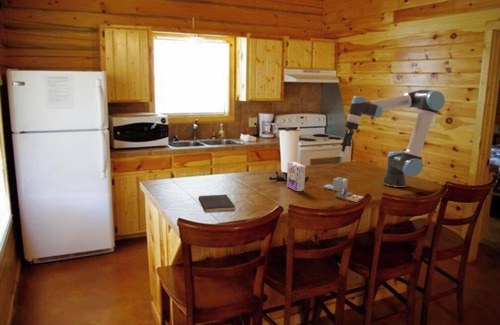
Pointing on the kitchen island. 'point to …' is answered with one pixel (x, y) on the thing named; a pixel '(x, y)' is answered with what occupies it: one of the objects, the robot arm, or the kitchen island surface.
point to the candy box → (296, 176)
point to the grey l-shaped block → (336, 184)
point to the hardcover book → (216, 203)
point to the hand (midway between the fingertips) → (343, 156)
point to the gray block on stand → (344, 191)
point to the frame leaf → (354, 198)
